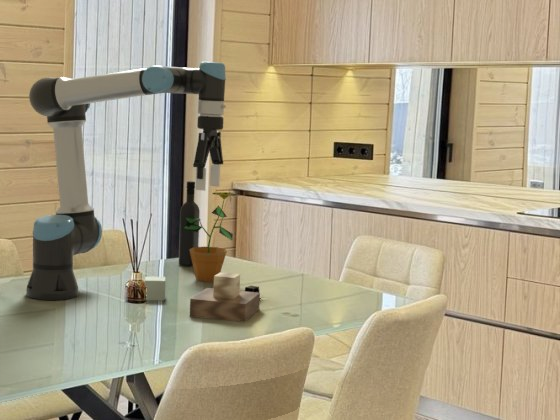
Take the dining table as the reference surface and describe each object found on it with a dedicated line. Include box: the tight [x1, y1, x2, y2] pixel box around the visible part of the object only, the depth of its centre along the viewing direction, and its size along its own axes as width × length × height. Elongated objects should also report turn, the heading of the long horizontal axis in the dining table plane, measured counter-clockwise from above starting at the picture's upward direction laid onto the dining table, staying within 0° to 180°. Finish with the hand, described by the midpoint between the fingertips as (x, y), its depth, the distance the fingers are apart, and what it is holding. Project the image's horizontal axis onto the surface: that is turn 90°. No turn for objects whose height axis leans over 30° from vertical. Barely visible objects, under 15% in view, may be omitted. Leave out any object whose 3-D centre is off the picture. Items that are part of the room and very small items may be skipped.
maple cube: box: [213, 271, 241, 299], centre depth 273 cm, size 6×6×6 cm
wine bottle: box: [178, 180, 201, 267], centre depth 343 cm, size 6×6×30 cm
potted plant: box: [183, 192, 237, 282], centre depth 319 cm, size 18×19×30 cm
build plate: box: [243, 285, 262, 299], centre depth 293 cm, size 12×7×5 cm, turn 150°
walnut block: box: [189, 287, 261, 322], centre depth 274 cm, size 16×16×5 cm
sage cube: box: [144, 276, 166, 301], centre depth 289 cm, size 6×6×6 cm
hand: (207, 188), depth 282 cm, fingers open, 13 cm apart
